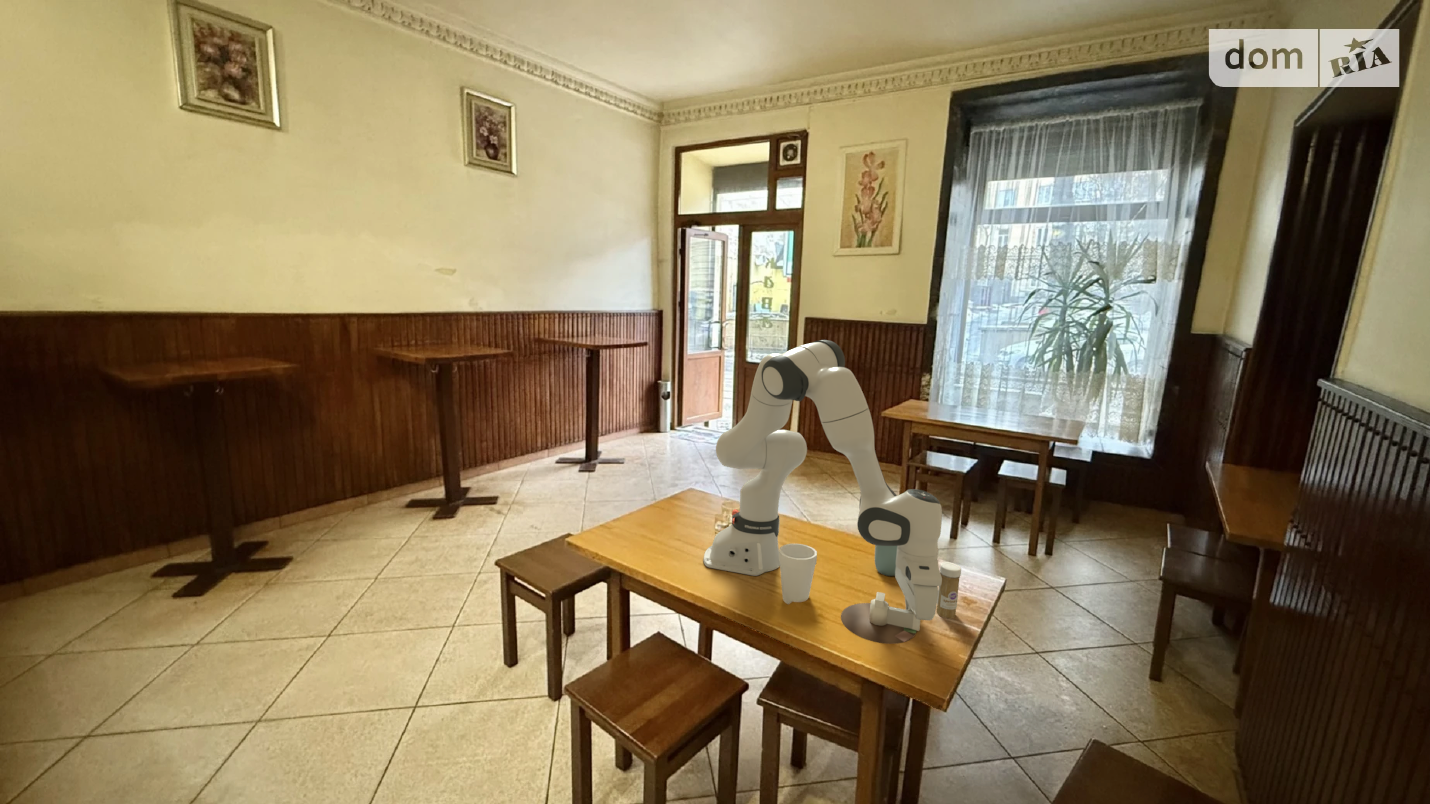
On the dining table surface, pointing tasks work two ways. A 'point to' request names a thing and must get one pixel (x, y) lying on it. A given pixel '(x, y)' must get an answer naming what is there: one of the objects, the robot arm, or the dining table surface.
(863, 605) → the dial
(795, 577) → the foam cup
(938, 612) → the sprinkles bottle
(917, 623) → the cream toy mallet
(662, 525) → the dining table surface
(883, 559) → the cup
